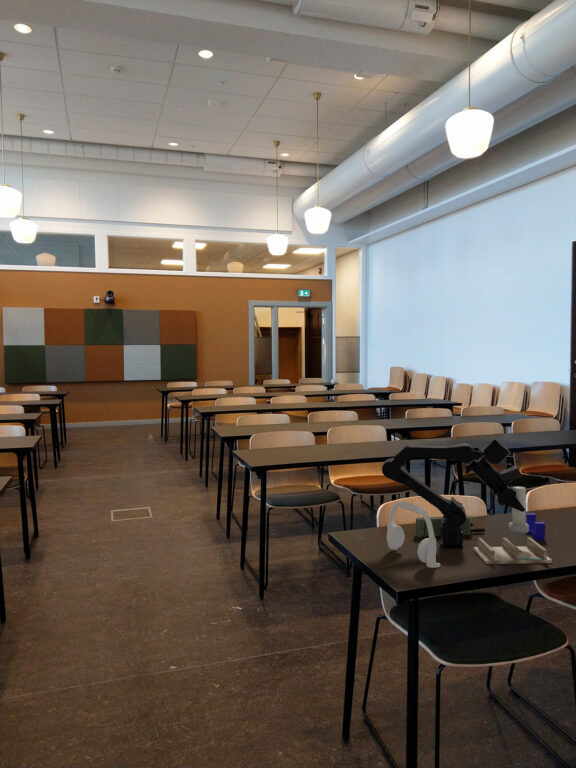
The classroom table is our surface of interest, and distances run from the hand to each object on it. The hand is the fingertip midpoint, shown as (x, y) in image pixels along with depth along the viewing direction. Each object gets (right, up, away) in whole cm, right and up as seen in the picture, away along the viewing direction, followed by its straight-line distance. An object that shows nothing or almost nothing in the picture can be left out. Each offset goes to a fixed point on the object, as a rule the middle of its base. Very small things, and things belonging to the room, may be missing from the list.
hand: (523, 509), depth 182 cm
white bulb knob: (-1, -7, +1) cm, 7 cm away
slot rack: (-5, -14, -4) cm, 16 cm away
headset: (-37, -15, -5) cm, 41 cm away
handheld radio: (-18, -13, +18) cm, 29 cm away
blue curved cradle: (+10, -13, +17) cm, 24 cm away
